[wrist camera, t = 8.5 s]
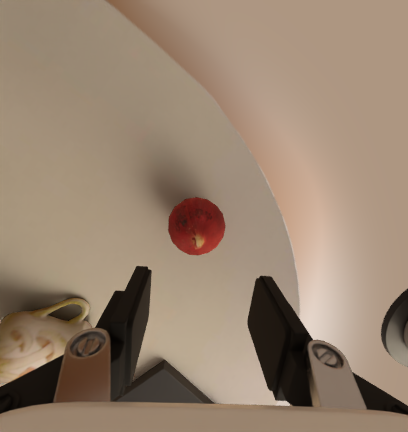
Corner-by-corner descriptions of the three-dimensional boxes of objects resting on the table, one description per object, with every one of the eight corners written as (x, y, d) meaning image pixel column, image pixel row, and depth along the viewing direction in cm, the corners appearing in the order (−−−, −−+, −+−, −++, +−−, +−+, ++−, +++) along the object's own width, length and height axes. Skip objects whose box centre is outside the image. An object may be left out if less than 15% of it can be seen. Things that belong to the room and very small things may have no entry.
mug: (104, 346, 31) (26, 427, 23) (58, 309, 34) (-27, 369, 26) (106, 312, 27) (12, 394, 19) (53, 274, 30) (-48, 331, 22)
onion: (161, 211, 26) (148, 235, 18) (200, 181, 25) (204, 194, 18) (191, 247, 27) (191, 284, 20) (229, 220, 27) (244, 247, 19)
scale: (233, 417, 36) (237, 440, 33) (166, 458, 38) (163, 483, 35) (167, 357, 32) (164, 378, 29) (94, 407, 34) (85, 431, 31)
